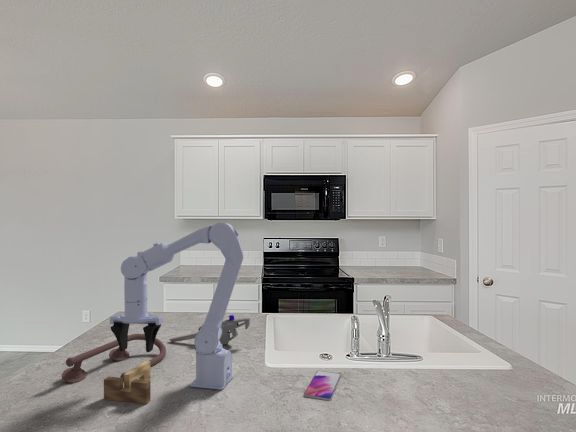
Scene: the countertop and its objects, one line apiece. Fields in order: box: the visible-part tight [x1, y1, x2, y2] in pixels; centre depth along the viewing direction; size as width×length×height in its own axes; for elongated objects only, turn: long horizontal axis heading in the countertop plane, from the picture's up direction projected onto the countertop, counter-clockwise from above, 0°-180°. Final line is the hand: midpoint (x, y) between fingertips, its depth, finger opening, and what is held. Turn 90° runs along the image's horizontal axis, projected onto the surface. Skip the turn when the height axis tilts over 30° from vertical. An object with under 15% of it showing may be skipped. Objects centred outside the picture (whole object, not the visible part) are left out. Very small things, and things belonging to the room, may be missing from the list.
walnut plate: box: [103, 376, 152, 405], centre depth 86 cm, size 12×2×5 cm, turn 78°
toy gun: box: [168, 314, 251, 346], centre depth 125 cm, size 2×32×10 cm, turn 81°
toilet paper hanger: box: [61, 333, 167, 384], centre depth 106 cm, size 28×7×17 cm
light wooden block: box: [123, 360, 151, 389], centre depth 93 cm, size 9×2×5 cm, turn 168°
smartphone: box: [303, 370, 342, 402], centre depth 93 cm, size 7×1×15 cm
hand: (136, 350), depth 94 cm, fingers open, 7 cm apart
